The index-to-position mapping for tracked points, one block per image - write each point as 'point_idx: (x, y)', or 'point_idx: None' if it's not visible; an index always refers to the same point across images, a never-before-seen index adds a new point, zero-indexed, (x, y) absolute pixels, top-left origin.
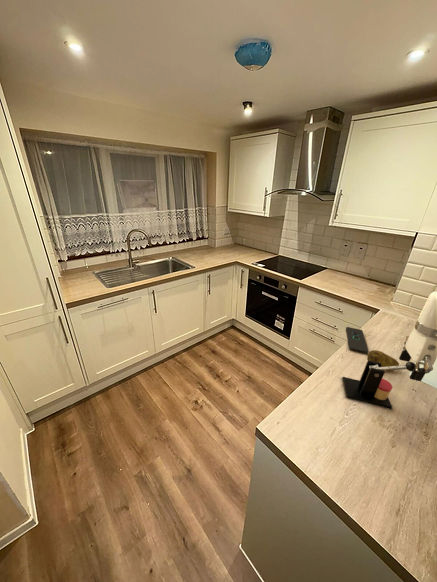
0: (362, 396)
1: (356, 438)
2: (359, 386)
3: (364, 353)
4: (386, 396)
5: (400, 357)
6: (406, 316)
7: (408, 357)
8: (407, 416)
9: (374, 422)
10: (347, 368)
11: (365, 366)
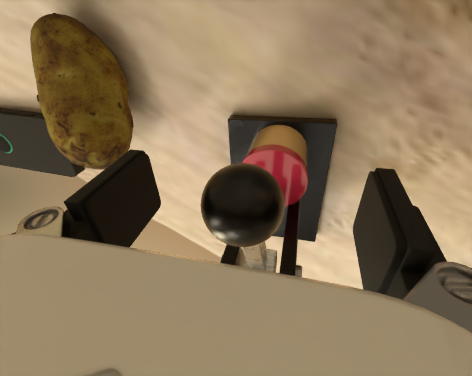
0: (307, 204)
1: (468, 250)
2: None
3: None
4: (304, 147)
5: (148, 217)
6: None
7: (127, 189)
8: (364, 61)
9: (406, 190)
10: (182, 198)
11: None
